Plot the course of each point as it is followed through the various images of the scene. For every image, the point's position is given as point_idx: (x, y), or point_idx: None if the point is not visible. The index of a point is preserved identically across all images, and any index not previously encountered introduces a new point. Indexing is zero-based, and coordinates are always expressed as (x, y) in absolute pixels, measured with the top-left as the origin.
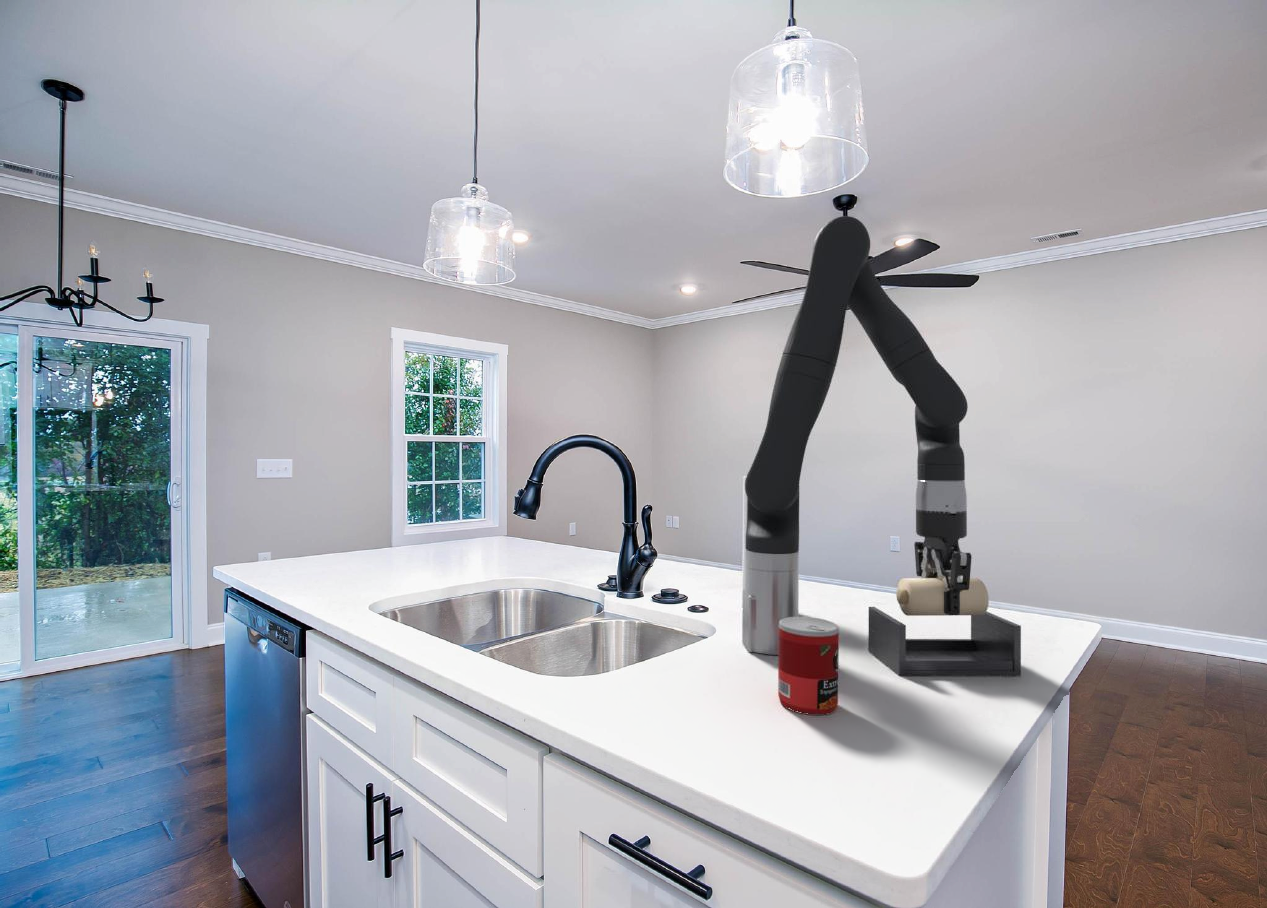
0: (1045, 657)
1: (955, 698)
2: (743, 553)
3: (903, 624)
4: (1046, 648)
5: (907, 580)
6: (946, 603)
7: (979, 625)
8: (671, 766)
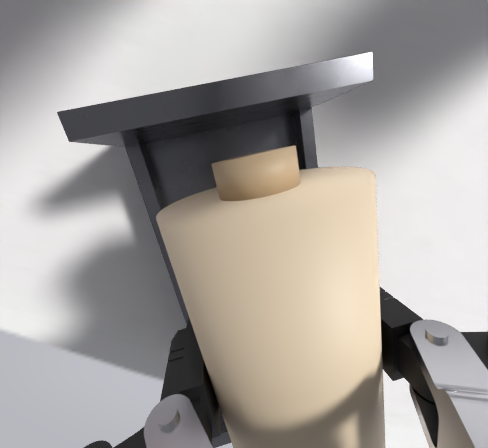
0: None
1: (21, 219)
2: None
3: (82, 135)
4: None
5: (257, 218)
6: (185, 345)
7: None
8: None
